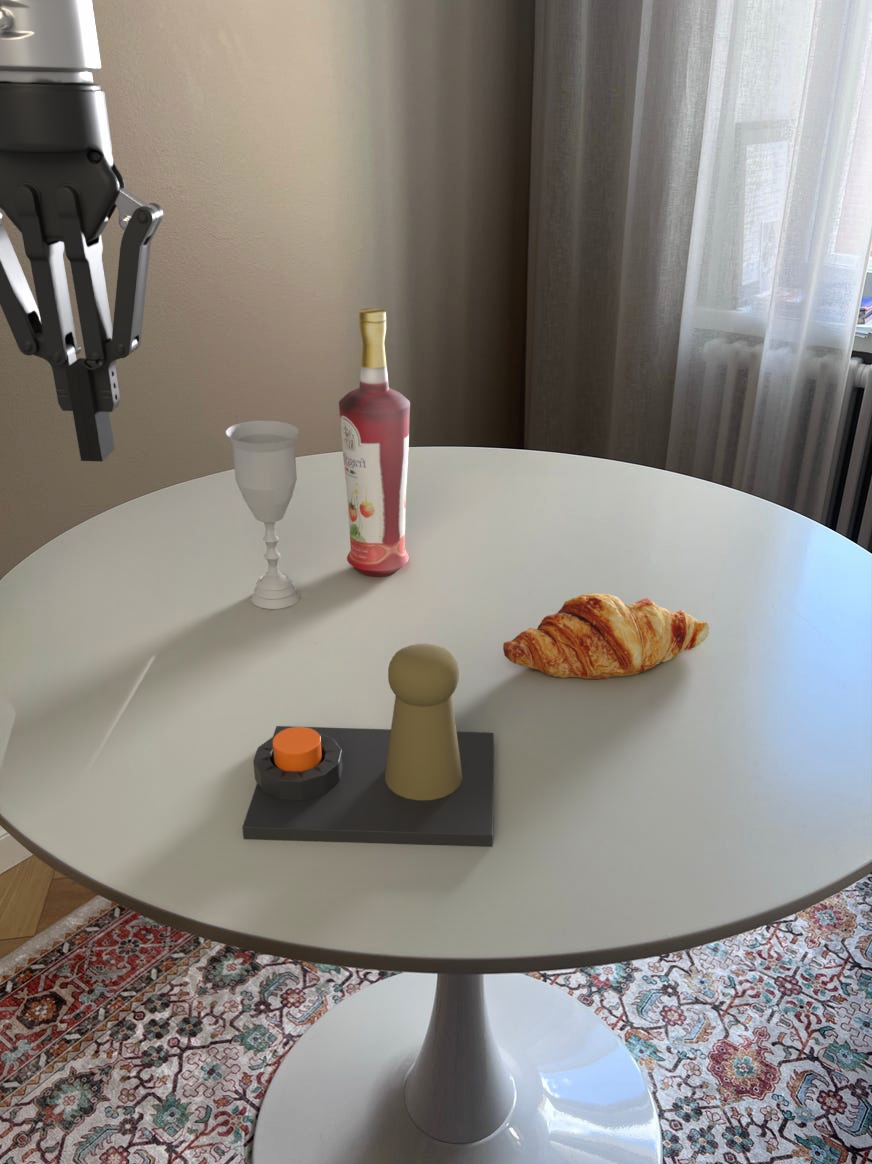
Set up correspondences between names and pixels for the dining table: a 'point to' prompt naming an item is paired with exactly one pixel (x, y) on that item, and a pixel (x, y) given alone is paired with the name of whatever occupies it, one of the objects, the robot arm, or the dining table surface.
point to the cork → (423, 724)
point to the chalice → (267, 495)
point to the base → (369, 796)
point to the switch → (297, 749)
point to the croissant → (605, 638)
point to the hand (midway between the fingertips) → (98, 454)
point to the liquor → (375, 457)
